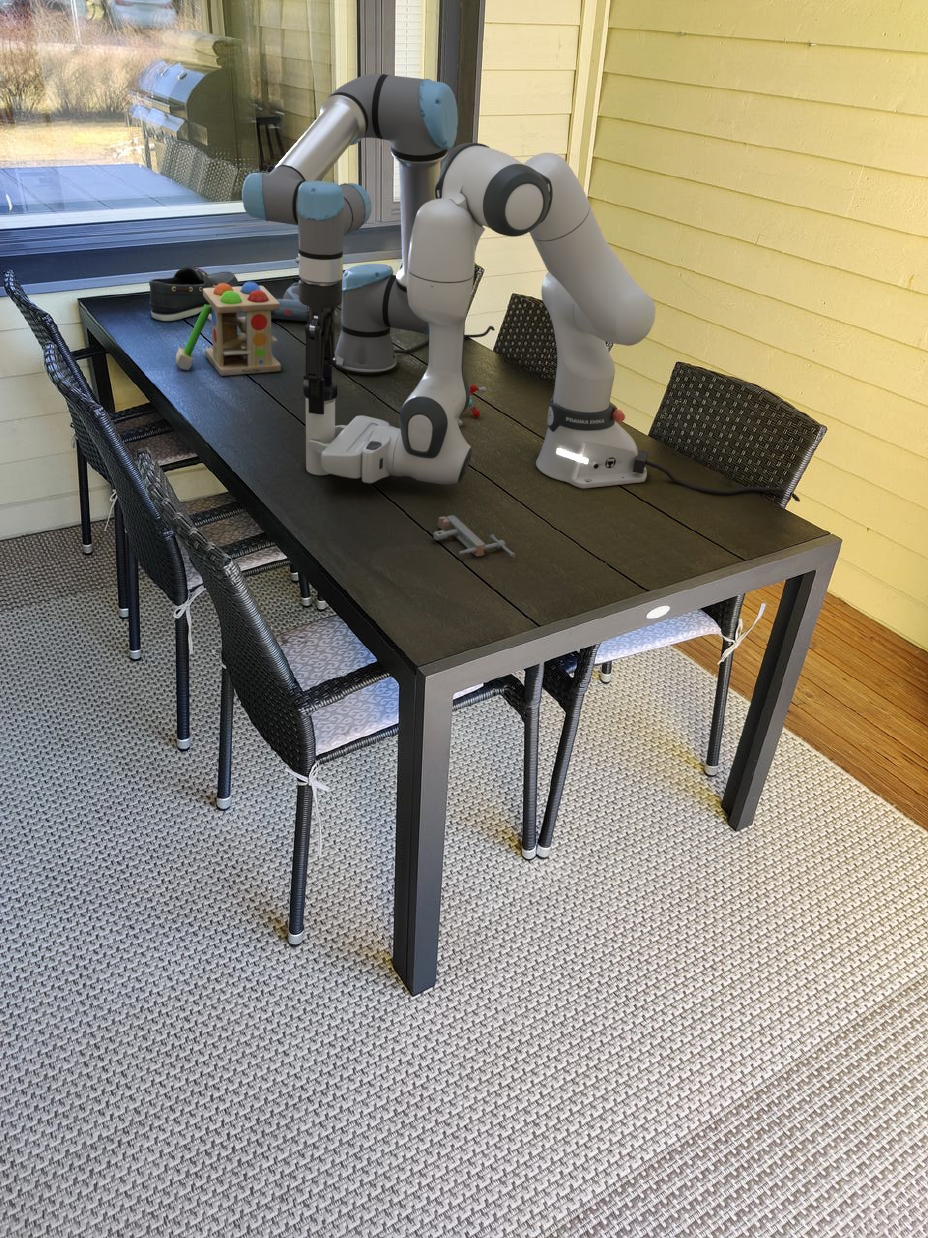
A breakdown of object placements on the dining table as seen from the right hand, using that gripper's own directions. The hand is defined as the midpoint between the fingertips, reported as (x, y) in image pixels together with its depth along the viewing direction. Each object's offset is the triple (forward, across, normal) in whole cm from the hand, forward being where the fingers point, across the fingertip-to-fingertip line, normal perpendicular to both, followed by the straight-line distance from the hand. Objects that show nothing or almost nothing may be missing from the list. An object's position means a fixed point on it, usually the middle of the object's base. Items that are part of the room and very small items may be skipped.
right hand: (315, 436), depth 186 cm
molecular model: (-18, -36, +6) cm, 41 cm away
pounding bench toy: (+39, -42, +7) cm, 58 cm away
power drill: (+38, -88, +7) cm, 96 cm away
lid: (-1, 0, -10) cm, 11 cm away
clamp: (-35, +18, +6) cm, 40 cm away
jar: (-1, 0, +6) cm, 7 cm away
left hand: (-1, 0, -6) cm, 6 cm away
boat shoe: (+66, -79, +7) cm, 103 cm away
